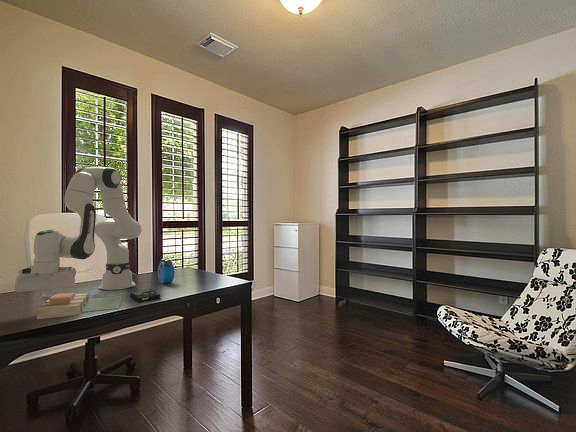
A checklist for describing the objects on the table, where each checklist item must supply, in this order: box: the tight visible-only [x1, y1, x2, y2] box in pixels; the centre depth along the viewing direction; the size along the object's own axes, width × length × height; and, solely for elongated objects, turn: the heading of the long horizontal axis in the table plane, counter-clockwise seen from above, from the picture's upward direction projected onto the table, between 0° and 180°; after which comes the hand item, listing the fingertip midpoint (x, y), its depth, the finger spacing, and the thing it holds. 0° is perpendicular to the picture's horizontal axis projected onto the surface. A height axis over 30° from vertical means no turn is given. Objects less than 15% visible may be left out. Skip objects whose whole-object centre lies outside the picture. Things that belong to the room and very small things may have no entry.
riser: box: [36, 292, 90, 320], centre depth 130 cm, size 22×14×4 cm, turn 25°
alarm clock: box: [157, 257, 175, 284], centre depth 185 cm, size 13×6×15 cm, turn 41°
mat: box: [80, 295, 123, 314], centre depth 139 cm, size 22×14×1 cm, turn 25°
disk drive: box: [130, 288, 161, 303], centre depth 151 cm, size 10×3×15 cm
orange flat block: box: [49, 292, 76, 304], centre depth 130 cm, size 10×7×2 cm
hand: (46, 300), depth 128 cm, fingers closed
